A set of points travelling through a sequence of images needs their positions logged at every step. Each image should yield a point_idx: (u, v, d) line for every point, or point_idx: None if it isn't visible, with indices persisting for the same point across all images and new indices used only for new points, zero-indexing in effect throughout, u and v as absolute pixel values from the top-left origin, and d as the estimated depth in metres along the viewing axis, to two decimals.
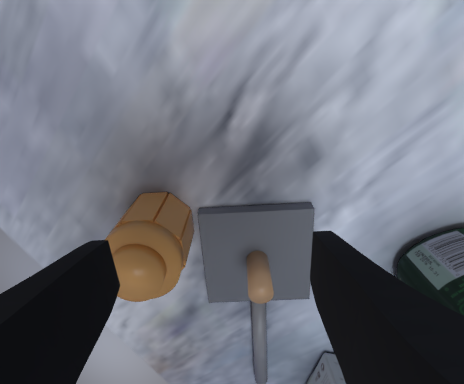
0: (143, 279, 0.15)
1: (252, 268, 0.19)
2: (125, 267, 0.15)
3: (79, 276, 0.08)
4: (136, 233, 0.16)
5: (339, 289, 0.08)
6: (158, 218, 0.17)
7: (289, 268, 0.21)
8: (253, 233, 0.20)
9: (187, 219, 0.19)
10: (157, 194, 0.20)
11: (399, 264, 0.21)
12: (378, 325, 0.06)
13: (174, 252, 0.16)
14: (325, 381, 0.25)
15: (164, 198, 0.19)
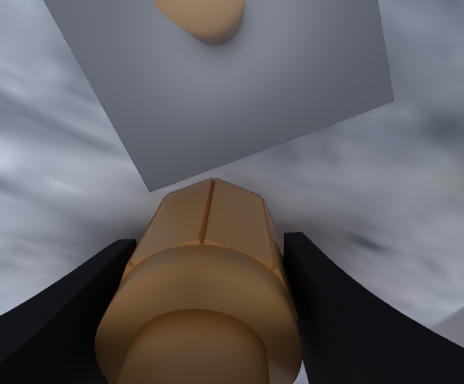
0: None
1: None
2: None
3: (112, 275, 0.08)
4: (110, 372, 0.07)
5: (302, 290, 0.08)
6: None
7: None
8: (140, 53, 0.08)
9: (158, 213, 0.09)
10: None
11: None
12: (327, 327, 0.06)
13: (118, 301, 0.06)
14: None
15: None
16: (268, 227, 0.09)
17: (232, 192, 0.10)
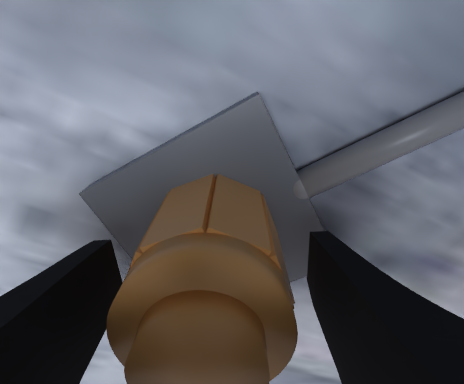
0: (188, 361, 0.06)
1: None
2: None
3: (83, 276, 0.08)
4: (120, 350, 0.08)
5: (335, 289, 0.08)
6: None
7: (205, 172, 0.11)
8: None
9: (163, 206, 0.10)
10: None
11: None
12: (373, 325, 0.06)
13: (129, 283, 0.07)
14: None
15: None
16: (267, 219, 0.09)
17: (233, 187, 0.10)
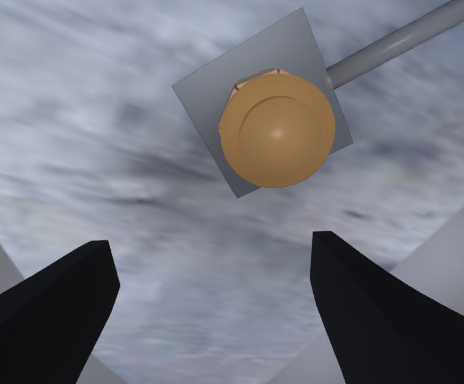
0: (277, 126, 0.11)
1: None
2: (263, 153, 0.11)
3: (79, 276, 0.08)
4: (225, 147, 0.12)
5: (339, 289, 0.08)
6: (219, 123, 0.13)
7: (262, 68, 0.16)
8: None
9: (237, 83, 0.15)
10: None
11: None
12: (378, 325, 0.06)
13: (239, 92, 0.11)
14: None
15: None
16: None
17: None
